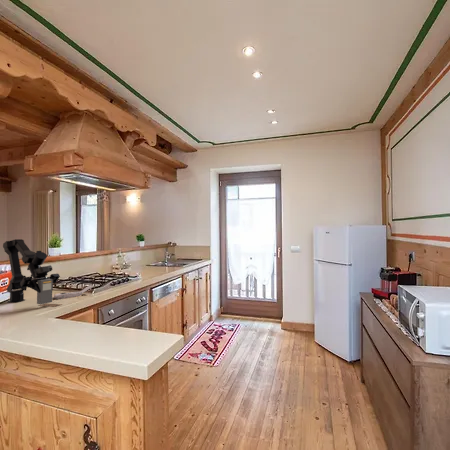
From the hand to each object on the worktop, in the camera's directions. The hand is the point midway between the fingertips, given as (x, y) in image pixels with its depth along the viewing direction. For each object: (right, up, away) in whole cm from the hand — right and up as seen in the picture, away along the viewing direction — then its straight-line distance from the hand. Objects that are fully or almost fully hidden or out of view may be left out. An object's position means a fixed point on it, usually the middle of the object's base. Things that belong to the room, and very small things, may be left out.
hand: (46, 291), depth 151 cm
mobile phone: (-1, -11, +29) cm, 31 cm away
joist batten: (0, -9, +4) cm, 10 cm away
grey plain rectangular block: (-1, -7, 0) cm, 7 cm away
